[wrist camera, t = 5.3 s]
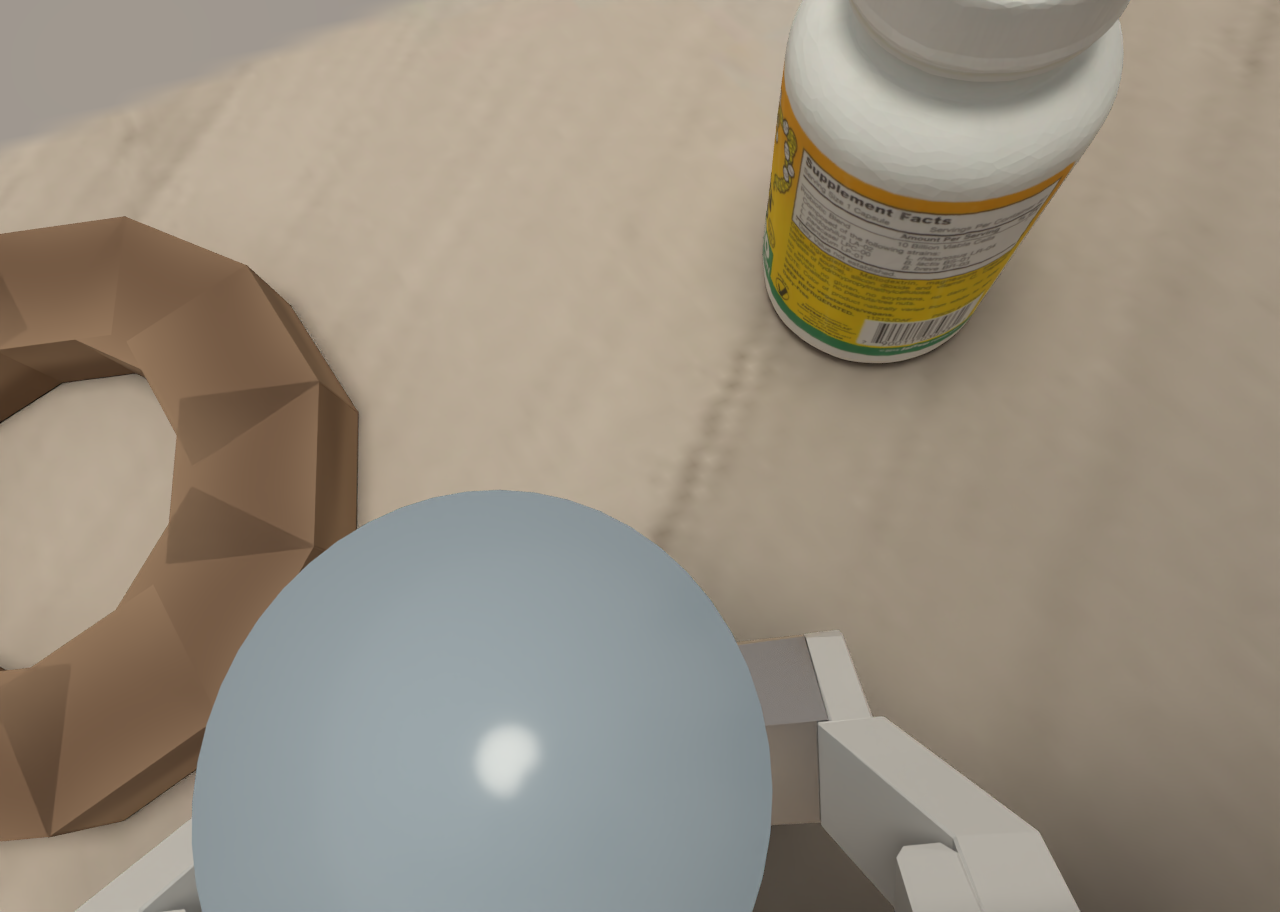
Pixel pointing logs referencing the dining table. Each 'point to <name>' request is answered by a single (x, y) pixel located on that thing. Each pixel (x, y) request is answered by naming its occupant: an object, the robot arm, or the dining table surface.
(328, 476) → the walnut ring
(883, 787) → the robot arm
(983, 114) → the supplement bottle
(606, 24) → the dining table surface
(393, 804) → the slate ceramic shaker
